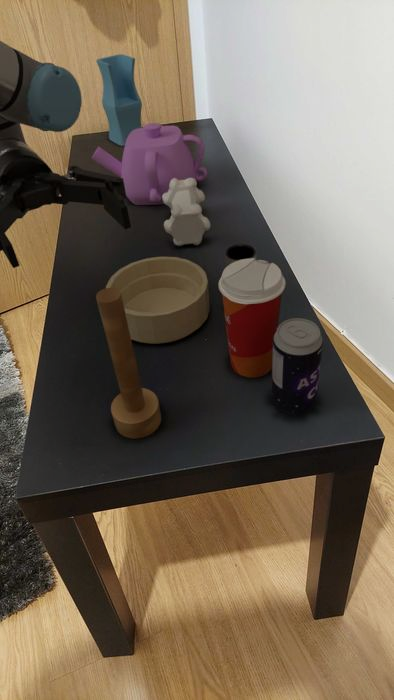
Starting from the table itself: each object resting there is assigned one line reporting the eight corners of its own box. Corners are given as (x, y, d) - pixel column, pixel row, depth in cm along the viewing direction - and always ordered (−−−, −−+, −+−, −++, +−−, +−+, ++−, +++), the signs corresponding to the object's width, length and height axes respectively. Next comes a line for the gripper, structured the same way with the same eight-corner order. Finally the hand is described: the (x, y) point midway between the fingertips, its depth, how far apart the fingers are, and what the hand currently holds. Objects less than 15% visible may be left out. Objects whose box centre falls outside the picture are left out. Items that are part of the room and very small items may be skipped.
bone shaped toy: (164, 214, 107) (159, 177, 102) (205, 210, 108) (202, 172, 102) (166, 251, 96) (161, 211, 91) (212, 246, 96) (209, 206, 91)
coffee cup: (239, 337, 76) (237, 250, 66) (291, 353, 73) (296, 264, 63) (212, 372, 71) (204, 284, 61) (265, 392, 68) (267, 301, 58)
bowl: (132, 360, 74) (125, 328, 70) (100, 304, 85) (93, 274, 81) (226, 325, 79) (225, 294, 75) (185, 276, 89) (182, 247, 85)
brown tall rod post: (123, 445, 63) (88, 319, 50) (109, 413, 67) (72, 288, 54) (168, 427, 65) (145, 300, 51) (151, 396, 69) (126, 272, 55)
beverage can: (296, 426, 63) (302, 355, 55) (262, 402, 66) (263, 332, 58) (324, 401, 66) (334, 330, 58) (290, 379, 69) (295, 309, 61)
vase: (121, 146, 139) (107, 64, 125) (108, 139, 144) (93, 59, 130) (146, 139, 142) (135, 58, 128) (133, 131, 147) (121, 53, 133)
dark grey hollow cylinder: (223, 312, 81) (219, 256, 74) (234, 296, 84) (233, 241, 77) (249, 319, 79) (248, 262, 72) (260, 302, 82) (260, 247, 75)
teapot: (218, 188, 115) (215, 122, 105) (142, 221, 106) (130, 152, 96) (169, 165, 126) (162, 104, 117) (96, 193, 118) (82, 129, 108)
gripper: (107, 176, 78) (172, 231, 64) (-60, 227, 70) (-27, 303, 56) (96, 126, 73) (164, 173, 59) (-84, 174, 65) (-56, 243, 51)
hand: (71, 236), depth 57 cm, fingers open, 13 cm apart
